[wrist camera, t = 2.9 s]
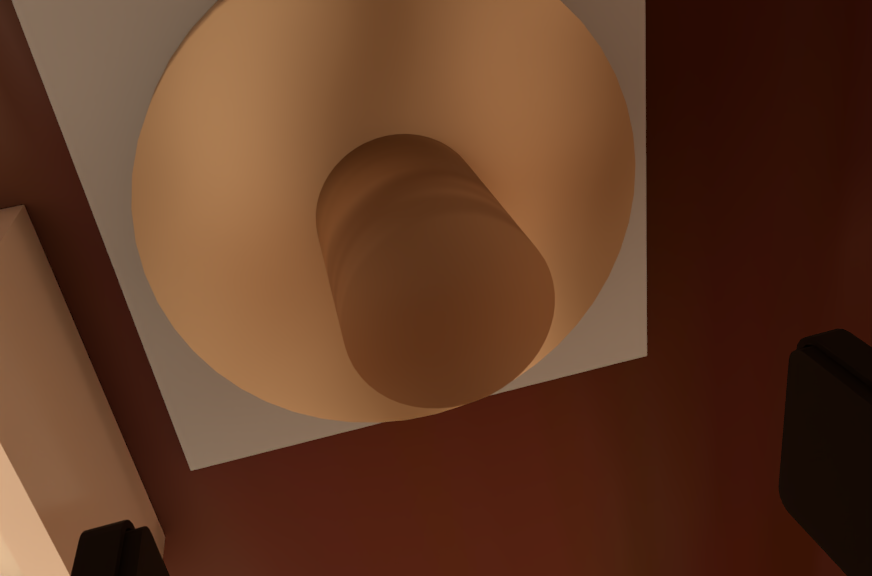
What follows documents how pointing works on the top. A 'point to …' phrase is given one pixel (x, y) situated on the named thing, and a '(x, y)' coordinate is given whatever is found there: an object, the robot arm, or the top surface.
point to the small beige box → (53, 422)
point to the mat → (111, 206)
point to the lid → (381, 196)
